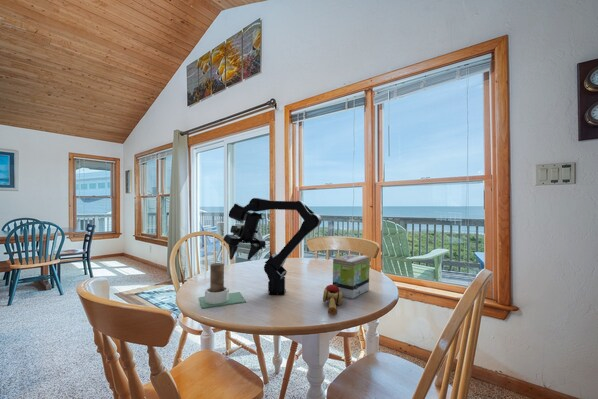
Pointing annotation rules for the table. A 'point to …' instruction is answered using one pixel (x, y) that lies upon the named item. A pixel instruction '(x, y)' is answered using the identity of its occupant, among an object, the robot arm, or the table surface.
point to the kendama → (332, 298)
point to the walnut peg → (217, 277)
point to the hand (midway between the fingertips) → (239, 259)
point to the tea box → (351, 274)
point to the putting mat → (220, 298)
